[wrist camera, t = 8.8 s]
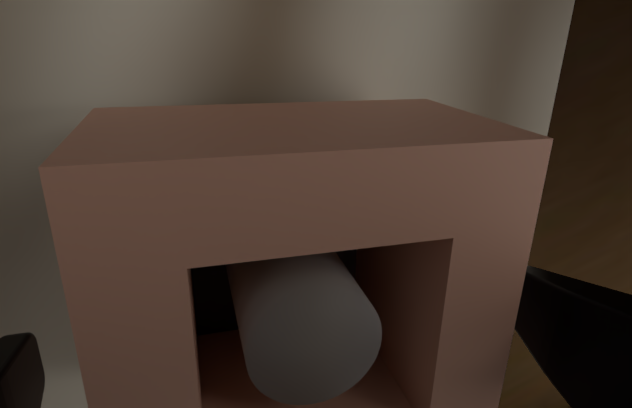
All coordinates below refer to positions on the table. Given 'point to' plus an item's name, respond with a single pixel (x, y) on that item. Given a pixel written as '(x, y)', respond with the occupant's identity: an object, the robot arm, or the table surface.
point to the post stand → (246, 88)
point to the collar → (294, 240)
